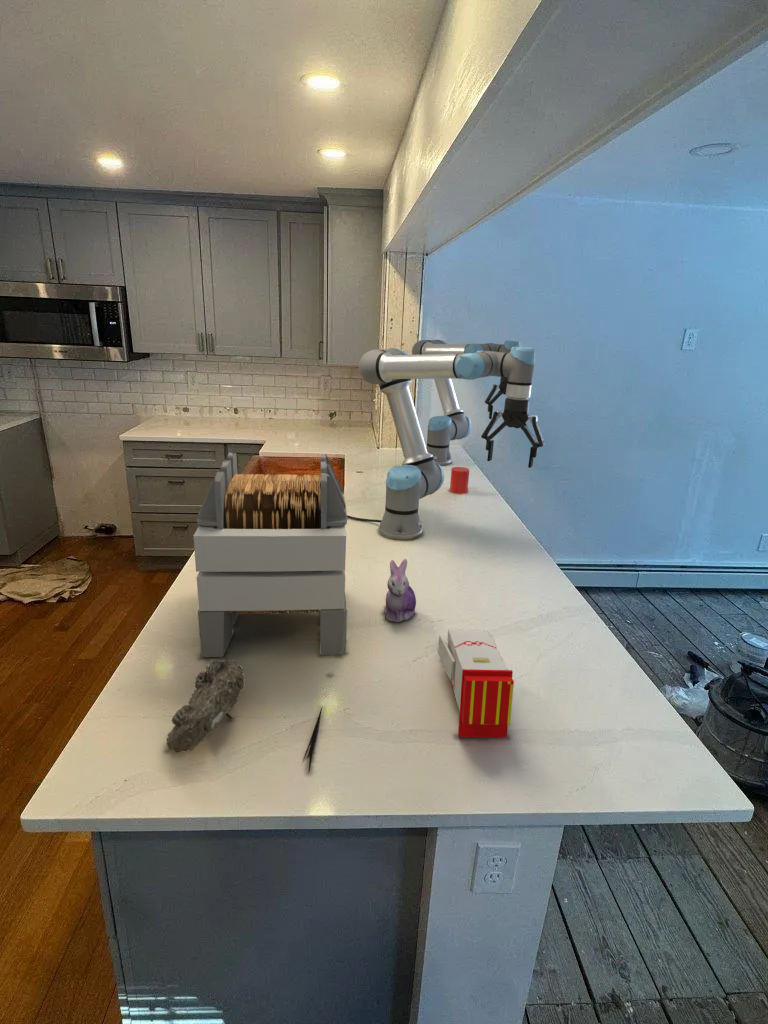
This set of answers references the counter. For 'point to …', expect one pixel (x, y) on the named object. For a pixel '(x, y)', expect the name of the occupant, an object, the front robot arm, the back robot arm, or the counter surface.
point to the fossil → (206, 705)
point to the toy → (478, 682)
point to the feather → (313, 740)
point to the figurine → (399, 594)
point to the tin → (459, 480)
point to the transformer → (271, 552)
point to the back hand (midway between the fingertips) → (503, 419)
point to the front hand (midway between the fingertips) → (509, 463)
